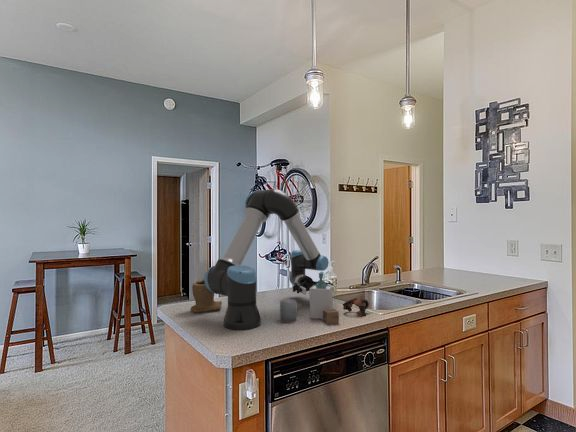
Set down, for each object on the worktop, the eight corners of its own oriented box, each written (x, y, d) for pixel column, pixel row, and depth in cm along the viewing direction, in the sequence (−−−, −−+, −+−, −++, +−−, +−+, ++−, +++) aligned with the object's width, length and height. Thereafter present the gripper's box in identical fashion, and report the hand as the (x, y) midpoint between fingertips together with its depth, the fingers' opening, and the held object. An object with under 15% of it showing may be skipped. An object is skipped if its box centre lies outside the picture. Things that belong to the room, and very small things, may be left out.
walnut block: (322, 321, 149) (322, 309, 149) (334, 320, 150) (333, 308, 150) (327, 324, 144) (327, 312, 144) (338, 323, 146) (338, 311, 146)
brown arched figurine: (354, 319, 152) (345, 301, 155) (345, 324, 161) (337, 306, 163) (376, 309, 157) (367, 292, 160) (367, 314, 165) (358, 297, 168)
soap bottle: (333, 314, 160) (332, 271, 160) (329, 319, 151) (329, 274, 151) (314, 313, 162) (313, 271, 162) (309, 318, 154) (309, 273, 154)
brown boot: (191, 316, 161) (191, 282, 161) (189, 309, 172) (189, 278, 172) (225, 312, 166) (225, 280, 166) (221, 306, 177) (220, 276, 178)
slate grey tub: (287, 323, 147) (287, 303, 147) (276, 319, 153) (276, 301, 153) (300, 319, 152) (299, 301, 152) (289, 316, 157) (289, 298, 157)
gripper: (327, 288, 185) (344, 296, 164) (280, 291, 178) (293, 301, 158) (327, 273, 185) (344, 280, 165) (280, 276, 178) (292, 284, 158)
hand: (319, 290), depth 161 cm, fingers open, 13 cm apart
